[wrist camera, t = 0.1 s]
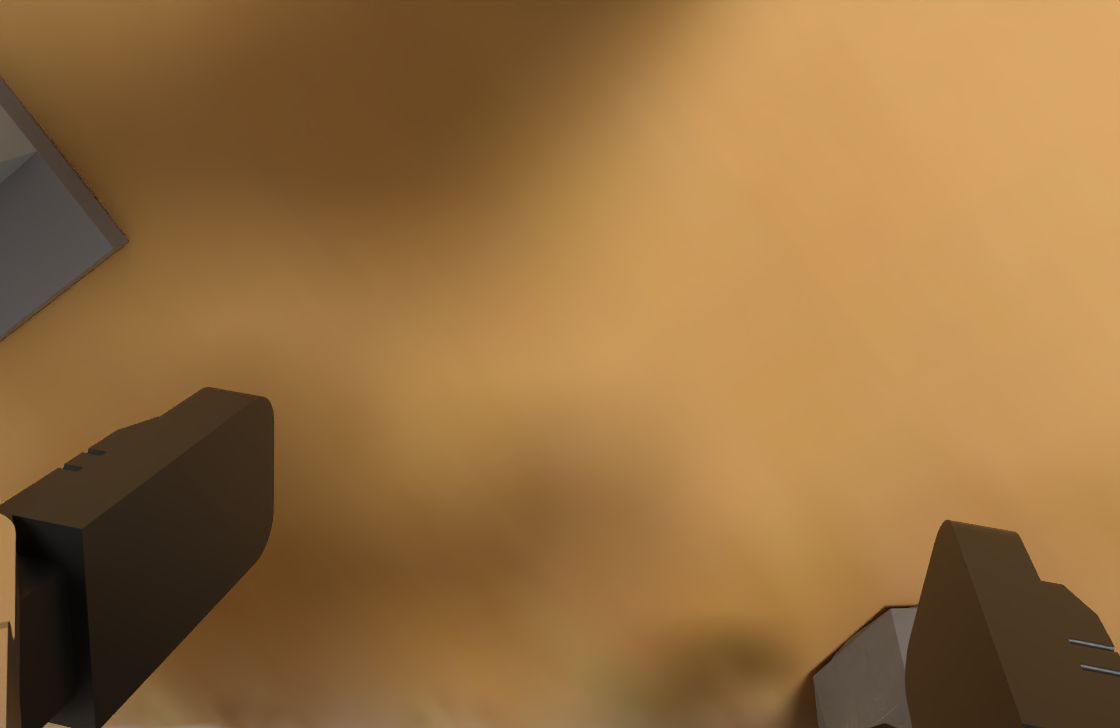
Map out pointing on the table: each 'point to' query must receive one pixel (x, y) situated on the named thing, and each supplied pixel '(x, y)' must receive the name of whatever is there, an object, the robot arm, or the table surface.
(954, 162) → the table surface
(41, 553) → the robot arm
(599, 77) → the table surface
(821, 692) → the coffeepot
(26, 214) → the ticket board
